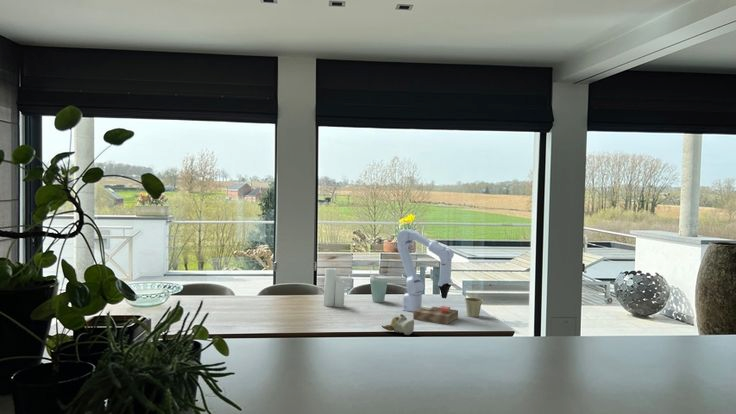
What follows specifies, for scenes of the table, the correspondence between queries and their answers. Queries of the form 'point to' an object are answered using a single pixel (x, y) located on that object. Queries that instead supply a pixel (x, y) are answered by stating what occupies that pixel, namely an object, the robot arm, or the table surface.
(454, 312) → the panel
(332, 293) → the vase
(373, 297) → the disposable coffee cup
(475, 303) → the flower pot
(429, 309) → the cream button
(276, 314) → the table surface
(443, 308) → the red button
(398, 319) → the ceramic sculpture
